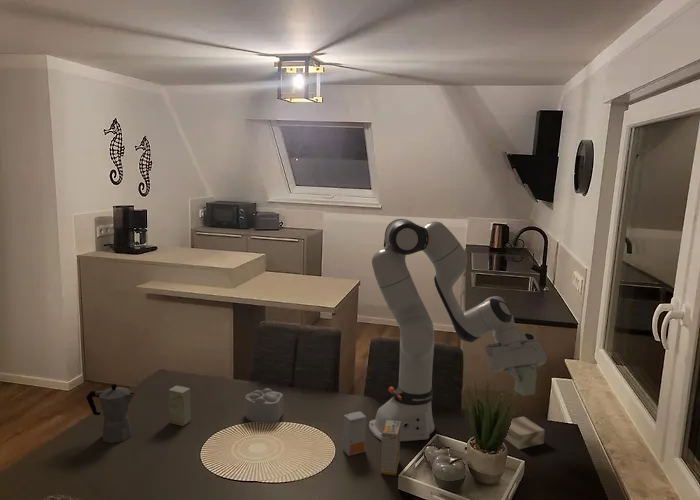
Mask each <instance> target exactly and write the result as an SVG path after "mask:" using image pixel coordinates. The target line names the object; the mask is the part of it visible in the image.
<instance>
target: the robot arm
mask: <svg viewBox="0 0 700 500" xmlns="http://www.w3.org/2000/svg"><path fill="white" fill-rule="evenodd" d="M421 251H422V252H423V253H424V254H425V255H426V256H427V257H428V259H429V261H430V262H431V263H432V264H433V267H434V270H435V275H434V276H433V277H434V278H433V282H434V285H435V288H436V291H437V293H438V295H439V298H440V300H441V302H442V304H443V305H444V308H445V310H446V312H447V313H448V316H449V318H450V320H451V321H450V322H452V326H453V329H454V331H455V333H456V335H457V337H458V338H459V339H460V340H461V341H464V342H468V343H473V342H475V341H477V340H478V339H480V338H482V336H485V335H487V334H488V333H491V332H492V336H493V338H494V339H493V340H494V341H495V343H490V344H487V346H486V347H485V353H486V355H487V357H488V358H487V359H488V362H489V365H490V368H491V370H492V371H493V373H498V372H505V371H507V373H508V374H509V375H510V376H511V377H512V378H513V379H514V382H515V381H516V382H521V381H522V378H521V376H520V375H518V374H517V373H516V367H521V366H529V367H531V368H533V369H535V370H536V371H537V367H538V366H539V367H540V366H543V365H544V364H545V363H546V362H547V358H548V357H547V355H546V353H545V351H544V349H543V347H542V345H541V343H539V342H538V341H537V337H536V335H535V334H533V333H528V332H525V331H522V330H520V328H519V327H518V326H517V325H516V323H515V318H514V316H513V314H512V311H511V309H510V308H509V305H507V303H506V302H505V300H504V299H503V298H502V297H501V296H498V295H495V296H489V297H487V298H485V300H484V301H483V302H480V303H478V304H476V305H475V306H474V307H472V308H470V309H468V310H466V311H464V310H462V309H461V306H460V304H459V302H458V300H457V298H456V296H455V293H454V292H453V287H454V286H455V284H456V283H457V282H458V280H459V279H460V278H461V277H462V275H463V274H464V272H465V271H466V268H467V266H468V255H467V252H466V251H465V249H464V246H463V245H462V243H460V241H459V240H458V239H457V238H456V236H455V235H454V234H453V232H451V230H450V229H448V227H447V226H446V225H444V224H443V222H440V221H435V220H434V221H431V222H428V223H426V224H425V225H423V226H420V225H419V224H418V223H417V224H416V223H415V222H413V221H412V220H409V219H405V218H396V219H394V220H392V221H391V222H389V223H388V225H387V227H386V228H385V233H384V240H383V248H381V249H380V250H378V251H377V252H376V253H374V255H373V256H372V258H371V264H372V269H373V273H374V276H375V280H376V281H377V285H378V287H379V289H380V292H381V294H382V297H383V299H384V301H385V303H386V306H387V308H388V310H389V311H390V313H391V314H392V316H393V317H394V319H395V321H396V323H397V325H398V327H399V331H400V333H399V334H400V335H399V371H398V372H399V373H398V385H397V386H396V389H395V388H394V387H393V386H389V388H388V392H389V393H390V394H391V395H393V396H392V397H391V398H390V399H389V400H387V401H386V402H385V403H384V404H382V405H381V406H380V407H379V408H378V409H377V412H376V415H375V419H372V420H370V421H369V423H368V428H369V429H368V430H370V432H371V434H372V435H373V436H374V437H375V438H377V439H379V440H380V441H381V442H382V432H383V428H384V425H385V422H386V420H391V421H400V422H401V432H400V442H409V441H410V442H411V441H421V440H425V441H426V440H428V439H429V438H430V435H431V434H432V433H433V432H434V431H435V423H434V419H433V411H432V402H433V393H434V392H433V391H434V390H433V386H432V385H433V384H432V381H433V365H434V363H433V362H434V353H435V351H434V350H435V333H434V324H433V321H432V318H431V317H430V314H429V312H428V310H427V308H426V306H425V304H424V302H423V300H422V299H421V296H420V295H419V292H418V290H417V289H418V288H417V287H416V285H415V282H414V280H413V278H412V275H411V273H410V271H409V268H408V267H407V263H406V256H409V255H413V254H416V253H418V252H421ZM536 379H538V375H537V374H536Z"/></svg>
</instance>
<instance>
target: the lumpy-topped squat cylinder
mask: <svg viewBox="0 0 700 500" xmlns="http://www.w3.org/2000/svg"><path fill="white" fill-rule="evenodd" d="M244 399H245V402H244V408H245V411H244V412H245V415H244V416H245V418H246V419H247V420H249V421H251V422H253V423H258V424H259V423H260V424H275V423H278V422H279V421H280V418H282V416H283V415H284V394H283V393H281V392H280V391H279V392H278V391H273V390H272V389H271V388H268V387H266V388H264V389H262V390H259V389H256V390H254V391H252V392H249V393H247V394H246V395H245V397H244Z"/></svg>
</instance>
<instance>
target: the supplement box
mask: <svg viewBox="0 0 700 500" xmlns="http://www.w3.org/2000/svg"><path fill="white" fill-rule="evenodd" d="M400 432H401V422H400V421H391V420H386V422H385V425H384V428H383V432H382V441H381V458H380V459H381V460H380V461H381V463H380V465H381V466H380V473H381V474H382V475H387V476H388V475H389V476H397V473H398V467H399V464H400V453H401V452H400V451H401V441H400Z"/></svg>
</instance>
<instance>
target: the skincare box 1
mask: <svg viewBox="0 0 700 500" xmlns="http://www.w3.org/2000/svg"><path fill="white" fill-rule="evenodd" d="M191 400H192V399H191V387H185V386H181V385H177V384H176V385H174V386H173V387H171V388H169V389H168V423H170V424H172V425H178V426H181V427H184V426H185V425H187V424H189V423H191V416H192V415H191V409H192V408H191V407H192V406H191Z"/></svg>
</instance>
